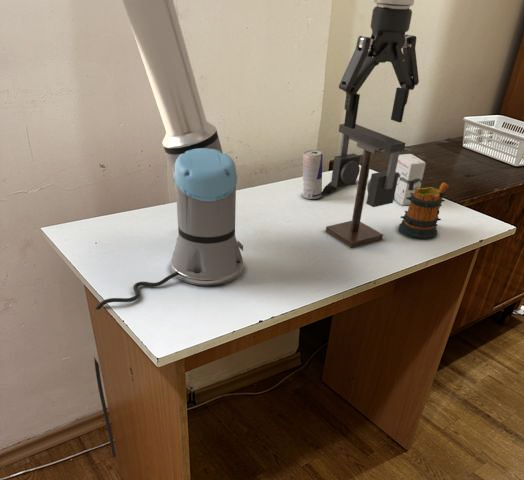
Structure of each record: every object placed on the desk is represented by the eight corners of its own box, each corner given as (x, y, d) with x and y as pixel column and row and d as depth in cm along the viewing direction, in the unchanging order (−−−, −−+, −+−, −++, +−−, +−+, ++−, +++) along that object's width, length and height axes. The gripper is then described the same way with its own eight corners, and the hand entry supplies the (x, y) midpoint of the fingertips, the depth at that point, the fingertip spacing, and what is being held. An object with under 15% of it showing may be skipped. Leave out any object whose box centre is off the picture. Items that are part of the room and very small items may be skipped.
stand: (351, 247, 121) (367, 153, 108) (325, 231, 128) (337, 140, 114) (382, 239, 126) (401, 147, 112) (355, 224, 132) (371, 135, 119)
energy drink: (324, 194, 147) (325, 151, 139) (316, 200, 143) (317, 156, 136) (308, 191, 149) (308, 149, 142) (299, 197, 145) (299, 154, 138)
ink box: (387, 194, 151) (395, 154, 143) (401, 193, 152) (410, 153, 145) (401, 205, 144) (411, 163, 137) (416, 204, 145) (426, 162, 138)
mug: (420, 244, 125) (432, 198, 118) (388, 229, 131) (398, 184, 124) (452, 232, 132) (465, 188, 125) (420, 218, 138) (431, 175, 131)
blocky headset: (376, 208, 113) (388, 145, 105) (328, 183, 125) (336, 124, 116) (395, 204, 116) (409, 142, 108) (347, 180, 127) (356, 122, 119)
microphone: (324, 208, 147) (357, 182, 159) (330, 192, 143) (364, 166, 154) (309, 198, 149) (343, 173, 160) (315, 182, 144) (350, 157, 155)
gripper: (356, 8, 90) (339, 134, 103) (452, 8, 101) (426, 122, 114) (330, 4, 95) (317, 125, 108) (424, 5, 106) (402, 114, 119)
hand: (373, 124), depth 111 cm, fingers open, 13 cm apart
